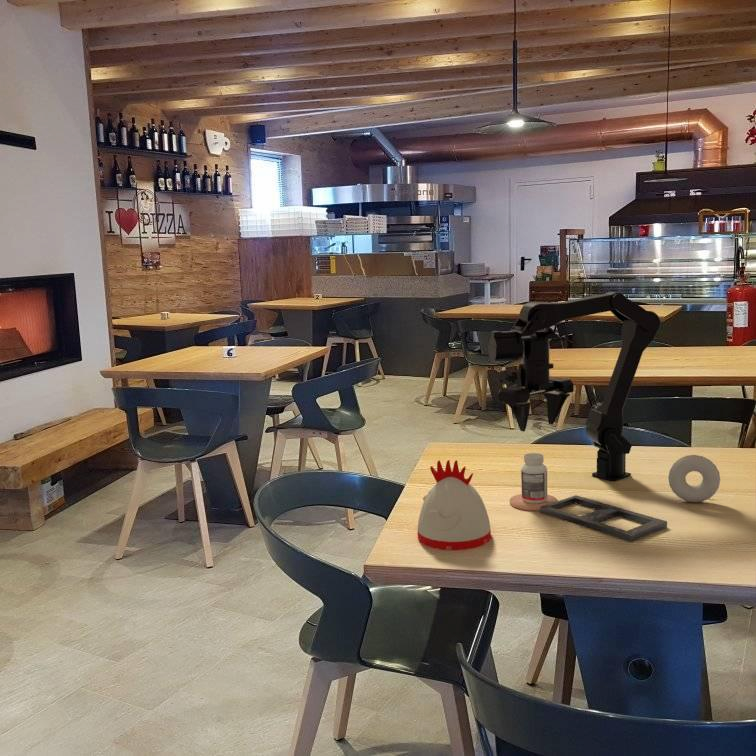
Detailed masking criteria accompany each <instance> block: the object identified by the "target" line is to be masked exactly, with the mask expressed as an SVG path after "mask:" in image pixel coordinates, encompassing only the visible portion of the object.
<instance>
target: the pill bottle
mask: <svg viewBox="0 0 756 756" xmlns="http://www.w3.org/2000/svg"><path fill="white" fill-rule="evenodd" d="M523 461H524V464H523V465H522V466H521V467H520V468H521V470H520V473H521V475H520V476H521V482H520V483H521V494H522V500H523V501H524V502H526V503H532V504H538V503H544V502H546V501H547V495H548V468H547V466H546V465H545V464H544V462H545V461H544V455H543V454H542V453H535V452H530V453H529V452H528V453H526V454H524V455H523Z"/></svg>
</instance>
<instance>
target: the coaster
mask: <svg viewBox="0 0 756 756" xmlns="http://www.w3.org/2000/svg"><path fill="white" fill-rule="evenodd" d="M557 501H559V500H558V498H557V497H555V496H553V495H550V494H547V501H546V502H544V503H538V504H532V503H526V502H524V501H523V500H522V493H518V494H515V495H513V496H511V497H510V498H509V505H510V506H511V507H513V508H515V509H517V510H522V511H528V512H529V511H530V512H540V507H541V506H545V505H548V504H551V503H554V502H557Z"/></svg>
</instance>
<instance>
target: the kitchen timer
mask: <svg viewBox="0 0 756 756" xmlns="http://www.w3.org/2000/svg"><path fill="white" fill-rule="evenodd" d="M436 462H437V463H436V469H435V468H434V467H433V466H432V465H431V466H430V467H429V469H430V472H431V474H432V476H433V478H434V480H435V482H436V483H435V484H434V485H433V486H432V487H431V489H430V490H429V491H428V492H427V494H426V495H425V496H424V497H423V498H422V500H423V503H422V506H421V509H420V513H419V517H418V521H417V539H419V540H418V541H419V542H420V543H421V544H422V545H424V546H426V547H429V548H432V549H436V548H437V549H438V550H441V551H442V550H443V551H461V550H471V549H475V548H477V547H478V548H479V547H481V546H484V545H485V544H488V543H489V541H490V540H491V538H492V534H491V533H492V531H491V524H490V523H491V522H490V518H489V514H488V512H487V509H486V506H485V503H484V500H483V498H482V497H481V495H480V494H479V492H478V491H477V490H476V488H475V487H474V486H473V485H472V484H471V480H472V479H473V477H474V476H473V475H474V472H471V474H470V475H469V476H468V478H465V471H466V470H467V469H466V468H467V467H466V466H464V467H462V468H461V471H460V470H459V464H458V460H457V459H456V460H455V461H454V463H453V466H452V467H453V468H452V467H451V462H450V459H448V460H447V461H446V463H445V470H444V469H443V466H442V462H441V460H440V459H439V460H437V461H436ZM437 549H436V550H437Z"/></svg>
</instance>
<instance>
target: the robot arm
mask: <svg viewBox="0 0 756 756" xmlns="http://www.w3.org/2000/svg"><path fill="white" fill-rule="evenodd" d="M607 312H611V314H612V315H613V316H614V317H615V318H616V319H618V320H619V321H620V322H621V323H622V325H621V348H620V352H619V354H618V357H617V360H616V362H615V365H614V368H613V371H612V374H611V377H610V380H609V383H608V385H607V389H606V391H605V394H604V397H603V399H602V403H601V404H600V405H599V406H598V408H597V409H594V408H590V409H589V412H588V417H587V420H585V422H584V426H586V427H585V434H586V435H587V437H588V438H589V440H590V441H592V444H593V446H594V447H595V448H598V450H597V452H596V453H597V454H596V455H597V456H596V471H595V472H592V473H591V476H593V477H595V478H600V479H604V480H608V481H613V482H615V481H619V480H622V479H624V478H625V479H626V478H627V477H631V476H632V473H631V472H627V471H626V468H627V466H626V455H629V454H630V452H631V449H632V446H633V445H632V443H630V442H629V441H628V439H626V438H625V437H624V436H623V435H622V434H623V429H624V416H623V413H624V412H623V411H624V407H625V404H626V401H627V398H628V395H629V393H630V390H631V387H632V384H633V381H634V378H635V376H636V373H637V371H638V368H639V365H640V361H641V358H642V357H643V353H644V352H645V350H646V349H647V348H648V347H649V345H651V344H652V343H653V341H654V340H655V338H656V336H657V334H658V332H659V330H660V328H661V325H662V324H661V319H660V317H659V315H658V314H657V313H656V312H655V311H652V310H647V309H645V308H644V307H642V306H640V305H639V304H637V303H636V302H634V301H632V300H630V299H629V298H628V297H626V296H625V295H624V293H622V292H616V291H607V292H606V293H601V294H597V295H591V296H585V297H581V298H577V299H576V298H575V299H570V300H566V301H559V302H555V301H554V302H553V301H551V302H549V301H547V302H546V301H532V302H531V301H530V302H529V301H528V302H527V303H525V304H523V305H522V307H521V309H520V311H519V316H518V318H517V319H516V321H515V323H514V324H513V326H512V327H511V329H510V330H507V331H499V330H493V331H492V330H491V332H490V333H491V337H490V339H489V343H488V345H487V350H488V351H487V352H488V357H489V360H490V361H491V363H502V362H514V361H516V362H517V361H519V359H520V358H522V357H523V359H522V361H523V363H519V365H518V369H517V371H512V370H511V369H510V368H509V369H508V368H507V369H503V370H500V371H499V379H498V380H499V382H500V384H501V385H502V386H504V387H501V388H500V389H499V391H498V401H500V402H502V403H503V404H504V405H507V406H508V407H509V408H510V409H511V411H512V413H513V414H514V417H515V420H516V423H517V424H518V428H519V431H520V432H526V429H527V426H528V420H529V415H530V409H531V405H532V404H531V402H529V400H530V398H531V396H534V395H540V394H542V395H543V396H544V398H545V399H546V400H545V401H546V407H547V408H546V411H547V422H548V425H554V424H555V422H556V419H557V417H558V415H559V413H560V411H561V409H562V407H564V404H565V403H566V400H567V399H568V397H570V396H571V394H570V393H574V383H573V381H572V380H571V379H568V378H561V377H551V378H550V370H551V369H554V363H551V362H550V340H552V339H553V340H555V339H559V337H560V336H559V334H557V333H556V332H555V331H554V330H553V328H552V327H554V326H556V325H558V324H560V323H562V322H563V321H567V320H570V319H576V318H579V317H585V316H586V317H587V316H590V315H595V314H597V315H598V314H603V313H607ZM505 386H506V387H505Z"/></svg>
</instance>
